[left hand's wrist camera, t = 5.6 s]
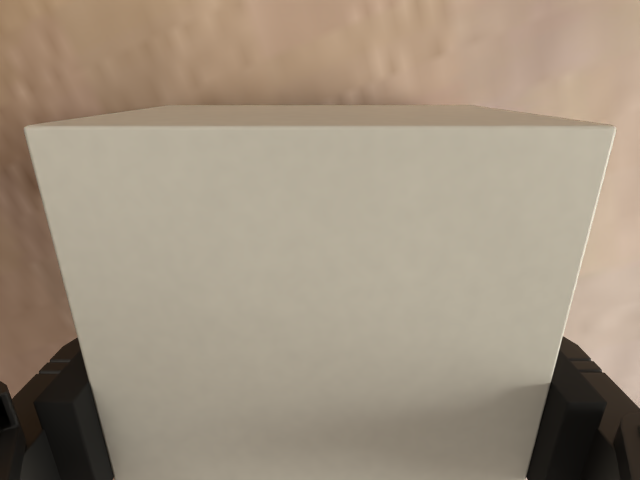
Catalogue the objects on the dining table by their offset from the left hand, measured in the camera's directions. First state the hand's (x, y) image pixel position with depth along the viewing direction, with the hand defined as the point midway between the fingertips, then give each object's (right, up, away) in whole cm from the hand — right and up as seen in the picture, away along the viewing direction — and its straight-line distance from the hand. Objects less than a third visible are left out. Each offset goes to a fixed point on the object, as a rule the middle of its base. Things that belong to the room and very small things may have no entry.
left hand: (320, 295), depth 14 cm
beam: (0, -23, +10) cm, 25 cm away
